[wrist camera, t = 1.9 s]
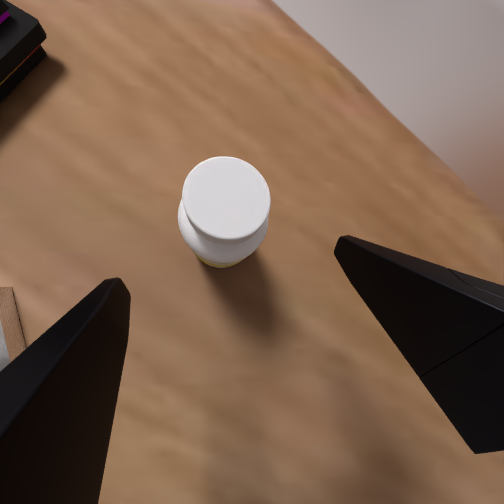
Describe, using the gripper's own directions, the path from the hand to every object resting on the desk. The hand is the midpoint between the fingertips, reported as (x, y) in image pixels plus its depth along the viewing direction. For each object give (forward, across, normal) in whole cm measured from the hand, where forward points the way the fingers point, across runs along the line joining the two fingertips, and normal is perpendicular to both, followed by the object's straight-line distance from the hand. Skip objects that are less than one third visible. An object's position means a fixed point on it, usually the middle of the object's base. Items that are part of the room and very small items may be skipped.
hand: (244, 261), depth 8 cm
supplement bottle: (+9, 0, +5) cm, 11 cm away
